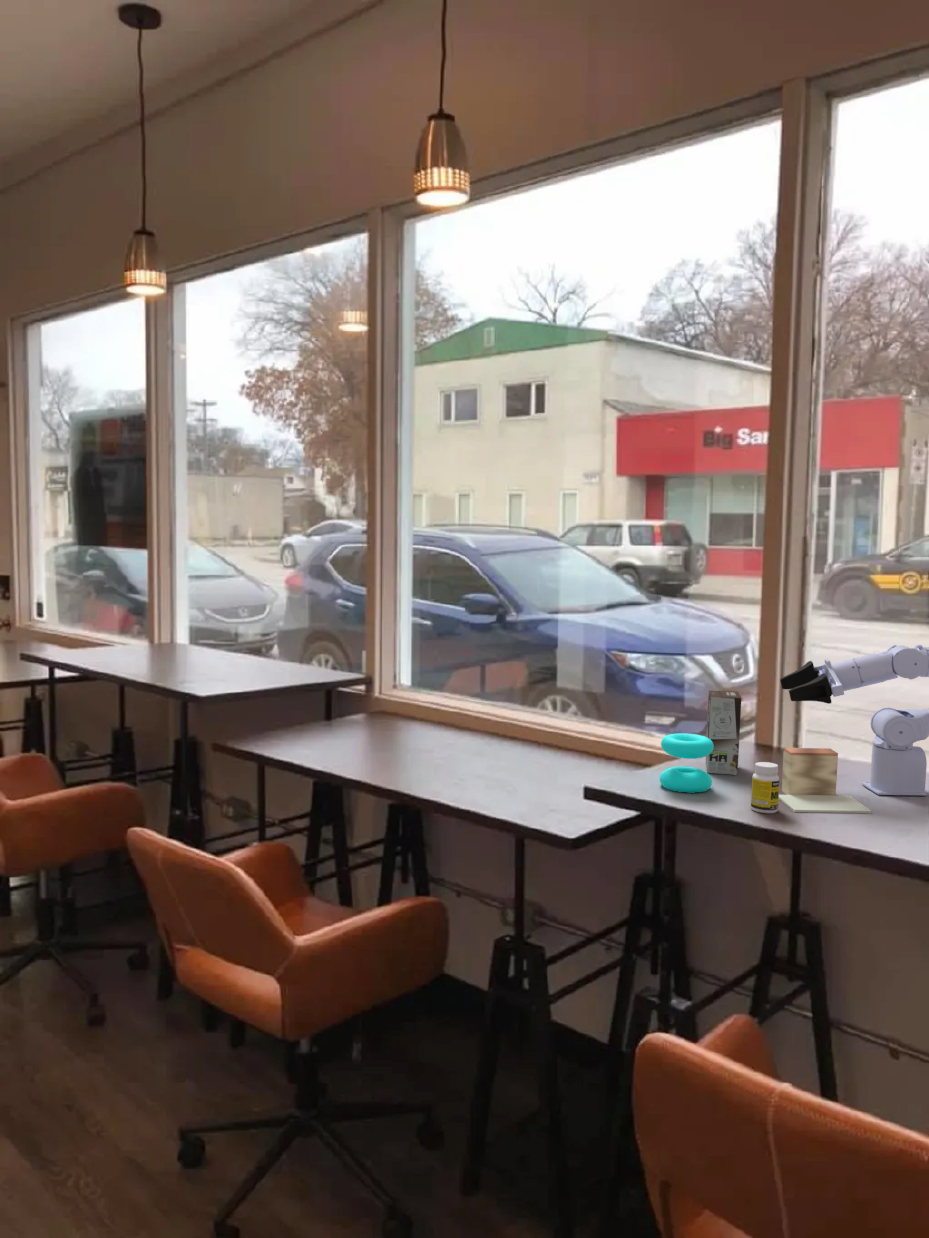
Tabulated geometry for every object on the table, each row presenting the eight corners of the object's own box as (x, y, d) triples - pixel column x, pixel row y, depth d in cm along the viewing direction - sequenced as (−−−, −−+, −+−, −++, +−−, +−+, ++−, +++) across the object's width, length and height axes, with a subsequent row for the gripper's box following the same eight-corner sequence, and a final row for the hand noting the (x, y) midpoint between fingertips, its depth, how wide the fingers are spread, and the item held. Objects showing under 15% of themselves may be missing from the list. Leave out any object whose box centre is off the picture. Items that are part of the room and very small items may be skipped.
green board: (849, 797, 188) (849, 795, 188) (871, 813, 178) (871, 810, 178) (776, 796, 188) (776, 794, 188) (794, 812, 178) (794, 809, 178)
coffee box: (738, 775, 203) (742, 697, 202) (706, 773, 205) (709, 696, 203) (735, 765, 212) (739, 690, 211) (704, 763, 214) (707, 689, 212)
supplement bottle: (773, 815, 176) (776, 769, 175) (747, 810, 178) (749, 765, 178) (780, 809, 180) (783, 763, 179) (754, 804, 183) (757, 759, 182)
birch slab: (827, 791, 193) (830, 748, 192) (835, 797, 189) (838, 753, 188) (781, 790, 193) (783, 747, 192) (788, 796, 189) (790, 752, 188)
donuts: (656, 731, 197) (706, 732, 198) (654, 780, 198) (704, 781, 198) (667, 742, 187) (719, 743, 188) (665, 794, 188) (717, 795, 189)
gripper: (841, 644, 199) (773, 660, 201) (863, 664, 185) (789, 681, 187) (848, 676, 200) (780, 692, 202) (870, 699, 186) (797, 716, 188)
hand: (785, 689), depth 195 cm, fingers open, 7 cm apart
